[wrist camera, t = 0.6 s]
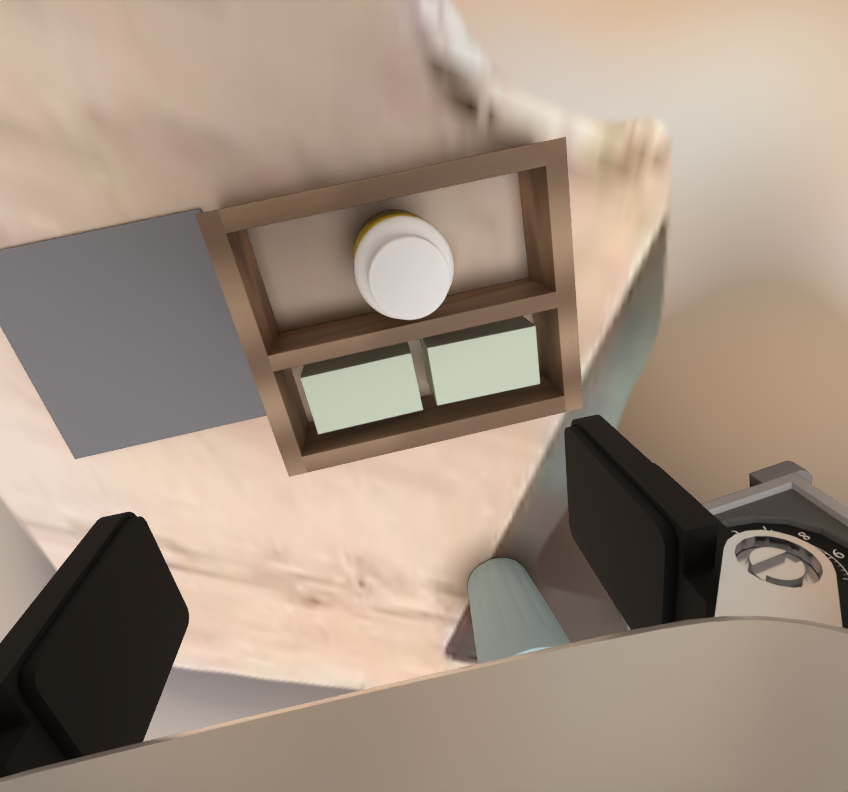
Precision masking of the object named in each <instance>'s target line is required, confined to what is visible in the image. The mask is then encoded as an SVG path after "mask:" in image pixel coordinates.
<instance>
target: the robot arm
mask: <svg viewBox="0 0 848 792" xmlns="http://www.w3.org/2000/svg"><path fill="white" fill-rule="evenodd" d="M564 436H565V454H566V473H567V491H568V510H569V525H570V530H571V533H572V536H573V539H574V540H575V542H576V544H577V545H578V547H579V548H580V550H581V551H582V553H583V555H584V556H585V558H586V560H587V561H588V563H589V564H590V566H591V568H592V569H593V571H594V572H595V574H596V575H597V577H598V579H599V580H600V582H601V583H602V585H603V587H604V588H605V590H606V591H607V593H608V595H609V596H610V598H611V599H612V601H613V602H614V604H615V606H616V607H617V609H618V610H619V612H620V614H621V615H622V617H623V618H624V620H625V622H626V623H627V625H628V626H629V628H630V629H631V630H629V631H624V632H618V633H614V634H609V635H605V636H600V637H596V638H591V639H587V640H582V641H578V642H573V643H568V644H563V645H559V646H554V647H550V648H545V649H541V650H536V651H532V652H528V653H523V654H519V655H514V656H510V657H505V658H501V659H497V660H492V661H488V662H483V663H479V664H475V665H470V666H466V667H461V668H457V669H453V670H448V671H444V672H439V673H435V674H430V675H426V676H422V677H417V678H413V679H409V680H404V681H400V682H396V683H391V684H387V685H383V686H378V687H374V688H370V689H366V690H361V691H357V692H353V693H348V694H344V695H340V696H335V697H331V698H327V699H323V700H319V701H314V702H310V703H305V704H302V705H297V706H293V707H289V708H284V709H280V710H276V711H272V712H267V713H263V714H259V715H254V716H250V717H246V718H242V719H238V720H233V721H229V722H225V723H221V724H217V725H212V726H208V727H204V728H200V729H196V730H191V731H187V732H183V733H179V734H175V735H170V736H166V737H162V738H158V739H154V740H150V741H145V742H143V740H144V737H145V735H146V732H147V730H148V727H149V724H150V722H151V719H152V717H153V714H154V712H155V709H156V706H157V704H158V701H159V699H160V696H161V694H162V691H163V689H164V686H165V683H166V681H167V678H168V675H169V673H170V671H171V668H172V665H173V663H174V660H175V658H176V655H177V652H178V650H179V647H180V645H181V642H182V640H183V637H184V634H185V632H186V629H187V627H188V623H189V612H188V608H187V606H186V604H185V602H184V600H183V597H182V595H181V593H180V591H179V589H178V587H177V585H176V583H175V581H174V578H173V576H172V574H171V572H170V570H169V568H168V566H167V564H166V562H165V560H164V557H163V555H162V553H161V551H160V549H159V547H158V545H157V543H156V541H155V539H154V536H153V534H152V532H151V530H150V528H149V526H148V524H147V522H146V520H145V519H144V518H143V517H140V516H139V517H137V516H136V515H135V514H134V513H132V512H125V513H121V514H116V515H111V516H106V517H102V518H100V519H99V520H97V522H96V523H95V524H94V525H93V527H92V528H91V529H90V530H89V532H88V533H87V534H86V535H85V537H84V538H83V539H82V540H81V542H80V543H79V544H78V546H77V547H76V548H75V549H74V551H73V552H72V553H71V554H70V556H69V557H68V558H67V559H66V561H65V562H64V563H63V564H62V566H61V567H60V568H59V570H58V571H57V572H56V573H55V575H54V576H53V577H52V578H51V580H50V581H49V582H48V584H47V585H46V586H45V587H44V589H43V590H42V591H41V592H40V594H39V595H38V596H37V598H36V599H35V600H34V601H33V602H32V604H31V605H30V606H29V608H28V609H27V610H26V611H25V613H24V614H23V615H22V617H21V618H20V619H19V620H18V621H17V623H16V624H15V625H14V627H13V628H12V629H11V630H10V632H9V633H8V634H7V635H6V637H5V638H4V639H3V640H2V642H1V643H0V792H848V582H844V581H840V580H837V577H836V572H835V569H834V567H833V564H832V562H831V561H830V560H829V559H828V558H827V557H826V556H825V555H824V554H823V552H821V551H820V550H818V549H817V548H815V547H814V546H812V545H811V544H809V543H807V542H805V541H803V540H801V539H798V538H796V537H794V536H791V535H787V534H783V533H780V532H775V531H767V530H750V531H744V532H741V533H738V534H734V533H733V532H732V531H730V530H729V529H728V528H727V527H726V526H725V525H724V524H723V523H722V522H720V521H719V520H718V519H717V518H716V517H715V516H714V515H713V514H712V513H710V512H709V511H708V510H707V509H706V508H705V507H704V506H703V505H702V504H700V503H699V502H698V501H697V500H696V499H695V498H694V497H693V496H692V495H690V494H689V493H688V492H687V491H686V490H685V489H684V488H682V486H680V485H679V484H678V483H677V482H676V481H675V480H674V479H673V478H671V477H670V476H669V475H668V474H667V473H666V472H665V471H664V470H663V469H661V468H660V467H659V466H658V465H656V464H655V463H652V462H651V461H650V460H649V459H647V458H646V457H645V456H644V455H643V454H642V453H641V452H640V451H639V450H638V449H637V448H636V447H634V446H633V445H632V444H631V443H630V442H629V441H628V440H627V439H626V438H624V437H623V436H622V435H621V434H620V433H619V432H618V431H617V430H616V429H615V428H614V427H612V426H611V425H610V424H609V423H608V422H607V421H606V420H605V419H604V418H602V417H601V416H600V415H593V416H589V417H584V418H579V419H574V420H573V421H572V424H571V427H567V428H566V429H565V433H564Z"/></svg>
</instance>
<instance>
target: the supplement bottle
mask: <svg viewBox="0 0 848 792" xmlns="http://www.w3.org/2000/svg"><path fill="white" fill-rule="evenodd" d="M353 268H354V276H355V280H356V284H357V287H358V289H359V291H360V293H361V295H362V296H363V298H364V299H365V301H366V302H367V303H368V304H369V305H370V306H371V307H372V308H374V309H375V310H376V311H378V312H379V313H381V314H383V315H385V316H388V317H391V318H396V319H403V320H415V319H419V318H423V317H425V316H427V315H429V314H431V313H432V312H434V311H435V310H436V309H437V308H438V307H439V306H440V305H441V304H442V302H443V301H444V299H445V297H446V295H447V293H448V291H449V289H450V287H451V284H452V280H453V275H454V260H453V256H452V252H451V249H450V247H449V245H448V243H447V241H446V239H445V238H444V236H443V235H442V234H441V233H440V232H439V231H438V230H437V229H436V228H435V227H434V226H432V225H431V224H430V223H428V222H427V221H425V220H423V219H421V218H420V217H418V216H416V215H414V214H412V213H409V212H406V211H401V210H389V211H385V212H381V213H379V214H377V215H375V216H373V217H372V218H371V219H369V220H368V221H367V222H366V223H365V224H364V226H363V227H362V228H361V230H360V231H359V233H358V235H357V237H356V240H355V244H354V264H353Z"/></svg>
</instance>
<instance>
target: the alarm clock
mask: <svg viewBox="0 0 848 792" xmlns="http://www.w3.org/2000/svg"><path fill="white" fill-rule="evenodd" d="M749 478H750V488H747V489H744V490H741V491H738V492H735V493H732V494H730V495H727V496H724V497H721V498H718V499H715V500H712V501H709V502H706V503H703V504H702V505H703V506H704V507H705V508H706V509H707V510H708V511H709V512H710V513H712V514H713V515H714V516H715V517H716V518H717V519H718V520H719V521H720V522H722V523H723V524H724V525H725V526H726V527H727V528H728V529H729V530H730V531H732V532H733V533H734V534H738V533H741V532H744V531H750V530H767V531H775V532H780V533H783V534H787V535H791V536H794V537H796V538H798V539H801V540H803V541H805V542H807V543H809V544H811V545H812V546H814V547H815V548H817V549H818V550H820V551H821V552H823V554H824V555H825V556H826V557H827V558H828V559H829V560H830V561H831V562H832V564H833V567H834V569H835V572H836V577H837V580H840V581H844V582H848V508H847V507H846V506H844V505H842V504H841V503H839V502H838V501H836V500H835V499H833V498H832V497H830V496H828V495H827V494H825V493H824V492H822V491H821V490H819V489H818V488H816V487H815V486H813V485H812V475H811V474H810V473H809V472H808V471H807V470H805V469H803V468H802V467H800V466H799V465H797V464H795V463H794V462H791V461H784V462H781V463H779V464H776V465H773V466H770V467H767V468H764V469H761V470H758V471H755V472H752V473H750V474H749ZM619 614H620V612H619ZM620 618H621V619H622V621H623V622H624V624H625V626H626V627H627V629H628V630H631V629H630V628H629V626H628V625H627V623H626V622H625V620H624V618H623V617H622V615H621V614H620Z"/></svg>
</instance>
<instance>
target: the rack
mask: <svg viewBox="0 0 848 792" xmlns="http://www.w3.org/2000/svg"><path fill="white" fill-rule="evenodd" d="M514 172H518V173H519V183H520V193H521V203H522V213H523V222H524V232H525V242H526V252H527V262H528V272H529V278H527V279H522V280H518V281H513V282H509V283H504V284H500V285H495V286H491V287H486V288H482V289H477V290H473V291H468V292H463V293H459V294H454V295H450V296H446V297H445V299H444V301H443V302H442V304H441V305H440V306H439V307H438V308H437V309H436V310H435V311H434V312H432V313H431V314H429V315H427V316H425V317H423V318H419V319H415V320H403V319H396V318H391V317H388V316H385V315H383V314H381V313H379V312H373V313H368V314H364V315H359V316H355V317H350V318H346V319H341V320H337V321H332V322H328V323H323V324H319V325H314V326H310V327H305V328H301V329H296V330H292V331H287V332H282V333H279V330H278V327H277V324H276V321H275V318H274V315H273V312H272V309H271V306H270V302H269V299H268V296H267V293H266V290H265V287H264V284H263V281H262V278H261V275H260V272H259V268H258V265H257V262H256V259H255V256H254V253H253V250H252V247H251V244H250V241H249V237H248V234H247V231H246V229H249V228H253V227H258V226H263V225H268V224H272V223H277V222H282V221H287V220H291V219H296V218H301V217H306V216H310V215H315V214H320V213H325V212H329V211H334V210H339V209H344V208H348V207H353V206H358V205H363V204H367V203H372V202H377V201H382V200H386V199H391V198H396V197H401V196H405V195H410V194H415V193H420V192H424V191H429V190H434V189H438V188H443V187H448V186H453V185H457V184H462V183H467V182H472V181H476V180H481V179H486V178H491V177H495V176H500V175H505V174H510V173H514ZM195 216H196V219H197V222H198V225H199V227H200V230H201V233H202V236H203V238H204V241H205V244H206V247H207V250H208V252H209V255H210V258H211V261H212V263H213V266H214V269H215V272H216V275H217V277H218V280H219V283H220V286H221V288H222V291H223V294H224V297H225V300H226V302H227V305H228V308H229V311H230V314H231V316H232V319H233V322H234V325H235V327H236V330H237V333H238V336H239V339H240V341H241V344H242V347H243V350H244V352H245V355H246V358H247V361H248V364H249V366H250V369H251V372H252V375H253V377H254V380H255V383H256V386H257V389H258V391H259V394H260V397H261V400H262V403H263V405H264V408H265V411H266V414H267V416H268V419H269V422H270V425H271V428H272V430H273V433H274V436H275V439H276V441H277V444H278V447H279V450H280V453H281V455H282V458H283V461H284V464H285V466H286V469H287V472H288V475H289V477H290V476H294V475H298V474H303V473H307V472H311V471H315V470H320V469H324V468H328V467H333V466H337V465H341V464H345V463H350V462H354V461H358V460H362V459H367V458H371V457H375V456H379V455H384V454H388V453H392V452H397V451H401V450H405V449H409V448H414V447H418V446H422V445H426V444H431V443H435V442H439V441H443V440H448V439H452V438H456V437H461V436H465V435H469V434H473V433H478V432H482V431H486V430H490V429H495V428H499V427H503V426H507V425H512V424H516V423H520V422H525V421H529V420H533V419H537V418H542V417H546V416H550V415H554V414H559V413H563V412H567V411H571V410H576V409H580V408H583V401H582V385H581V369H580V354H579V338H578V322H577V307H576V291H575V275H574V260H573V244H572V228H571V213H570V197H569V181H568V166H567V150H566V137H563V138H559V139H554V140H549V141H544V142H539V143H535V144H530V145H525V146H520V147H515V148H511V149H506V150H501V151H496V152H491V153H487V154H482V155H477V156H472V157H467V158H463V159H458V160H453V161H448V162H443V163H439V164H434V165H429V166H424V167H419V168H415V169H410V170H405V171H400V172H395V173H391V174H386V175H381V176H376V177H371V178H367V179H362V180H357V181H352V182H347V183H343V184H338V185H333V186H328V187H323V188H319V189H314V190H309V191H304V192H300V193H295V194H290V195H285V196H280V197H276V198H271V199H266V200H261V201H256V202H252V203H247V204H242V205H237V206H232V207H228V208H223V209H218V210H213V211H208V212H204V213H199V214H195ZM532 313H533V321H534V325H535V326H536V338H537V351H538V363H539V376H540V384H537V385H532V386H527V387H522V388H518V389H513V390H508V391H504V392H499V393H494V394H489V395H485V396H480V397H475V398H471V399H466V400H461V401H456V402H452V403H447V404H442V405H438V406H437V404H436V401H435V398H434V396H433V395H429V396H424V397H421V402H422V407H423V410H420V411H416V412H412V413H408V414H403V415H399V416H395V417H390V418H386V419H382V420H377V421H373V422H369V423H364V424H360V425H356V426H352V427H347V428H343V429H339V430H334V431H330V432H326V433H321V434H318V432H317V429H316V426H315V422H311V423H308V420H307V417H306V414H305V411H304V408H303V405H302V401H301V398H300V395H299V392H298V389H297V386H296V383H295V380H294V377H293V374H292V371H291V368H292V367H296V366H301V365H305V364H309V363H314V362H318V361H323V360H327V359H332V358H336V357H341V356H345V355H350V354H354V353H358V352H363V351H367V350H372V349H376V348H381V347H385V346H390V345H394V344H399V343H403V342H407V341H412V340H416V339H421V338H425V337H430V336H434V335H439V334H443V333H448V332H452V331H456V330H461V329H465V328H470V327H474V326H479V325H483V324H488V323H492V322H497V321H501V320H506V319H510V318H514V317H519V316H523V315H528V314H532Z"/></svg>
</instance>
